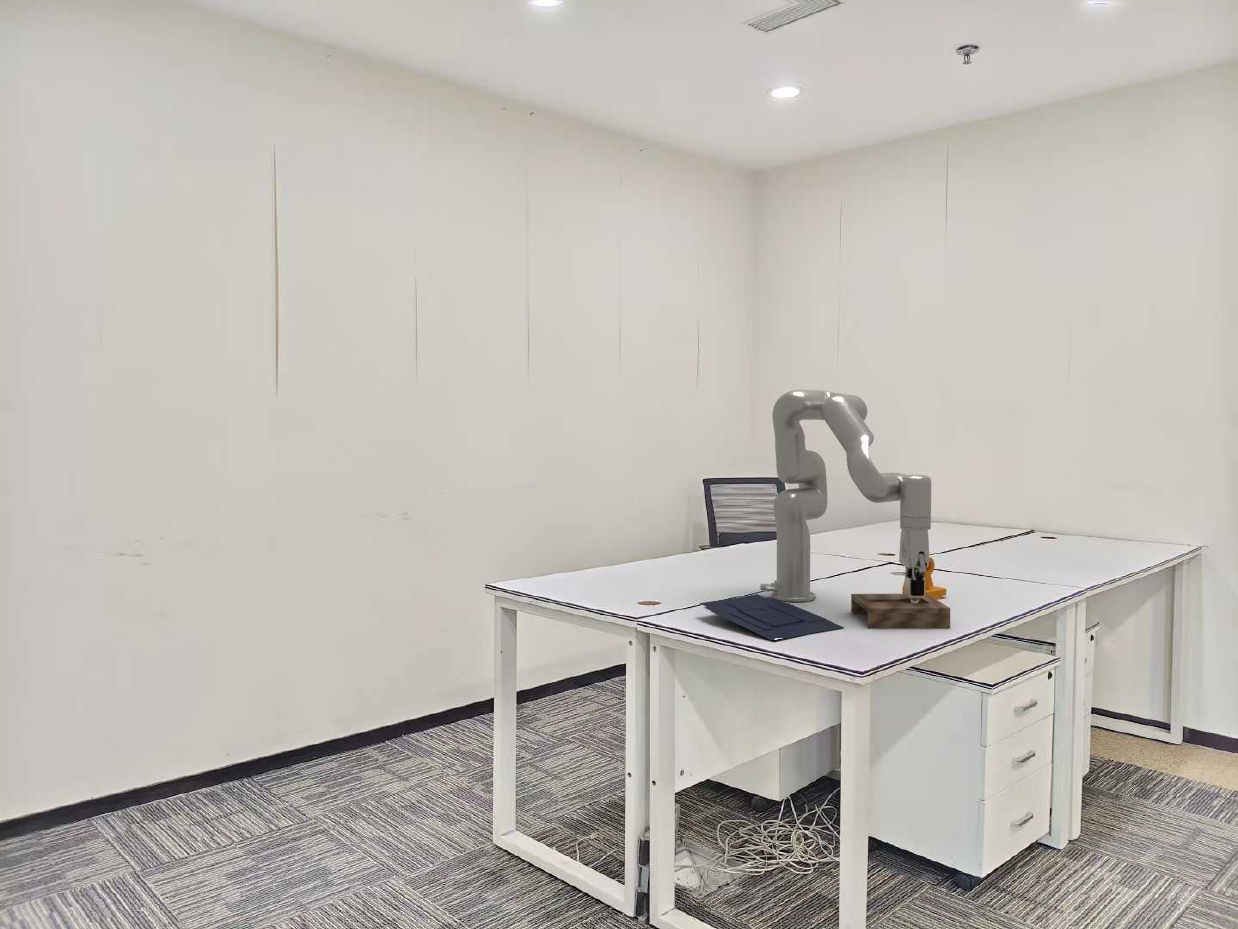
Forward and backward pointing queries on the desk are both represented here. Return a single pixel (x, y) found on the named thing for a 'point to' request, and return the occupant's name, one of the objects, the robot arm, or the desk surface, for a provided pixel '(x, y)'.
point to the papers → (769, 616)
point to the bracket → (930, 583)
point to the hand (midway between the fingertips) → (914, 593)
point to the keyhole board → (901, 611)
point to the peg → (908, 590)
